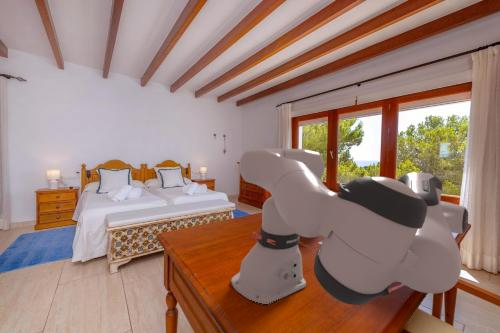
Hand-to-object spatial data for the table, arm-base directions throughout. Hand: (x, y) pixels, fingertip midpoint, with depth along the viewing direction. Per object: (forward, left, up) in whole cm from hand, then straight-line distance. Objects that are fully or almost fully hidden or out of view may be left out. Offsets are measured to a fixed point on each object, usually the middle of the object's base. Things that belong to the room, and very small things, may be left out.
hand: (365, 200), depth 84 cm
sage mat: (-7, +8, -20) cm, 23 cm away
